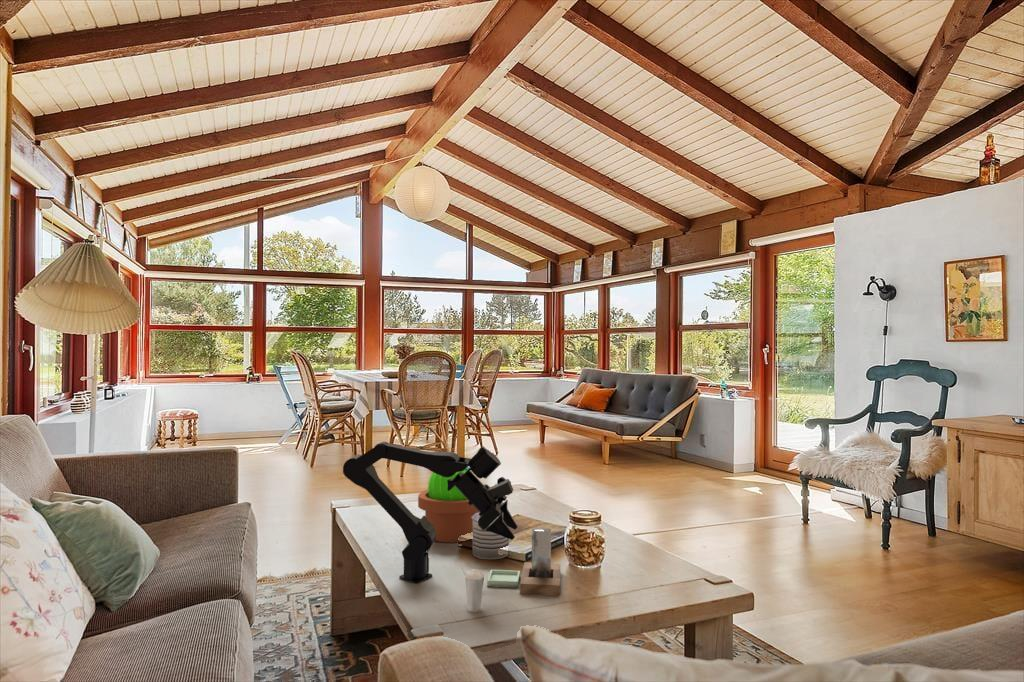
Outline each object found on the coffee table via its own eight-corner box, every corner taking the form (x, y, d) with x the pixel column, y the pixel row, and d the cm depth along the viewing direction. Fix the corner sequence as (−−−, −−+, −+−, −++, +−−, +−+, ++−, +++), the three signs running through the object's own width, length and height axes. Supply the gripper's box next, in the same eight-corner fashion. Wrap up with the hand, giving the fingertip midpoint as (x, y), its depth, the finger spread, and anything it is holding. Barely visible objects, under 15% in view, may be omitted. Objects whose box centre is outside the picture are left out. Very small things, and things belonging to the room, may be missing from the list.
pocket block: (519, 593, 160) (520, 583, 160) (524, 571, 176) (524, 562, 176) (559, 595, 159) (559, 585, 159) (560, 572, 175) (560, 563, 175)
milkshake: (461, 605, 152) (461, 564, 152) (483, 605, 152) (483, 563, 153) (461, 613, 147) (461, 570, 148) (484, 613, 148) (484, 570, 148)
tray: (487, 586, 164) (487, 580, 164) (490, 575, 172) (490, 569, 172) (517, 587, 164) (517, 581, 164) (520, 576, 172) (520, 570, 172)
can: (504, 561, 184) (505, 519, 184) (467, 558, 186) (467, 517, 186) (512, 548, 195) (513, 509, 195) (476, 546, 197) (477, 507, 197)
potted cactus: (405, 540, 202) (406, 462, 203) (438, 522, 223) (439, 451, 223) (467, 549, 194) (468, 467, 194) (496, 530, 214) (496, 456, 215)
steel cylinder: (544, 587, 164) (544, 533, 164) (527, 583, 167) (528, 530, 167) (554, 581, 168) (554, 529, 168) (538, 577, 171) (538, 525, 171)
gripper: (491, 476, 159) (534, 522, 158) (499, 463, 178) (538, 503, 177) (460, 507, 160) (503, 552, 159) (471, 490, 178) (510, 531, 177)
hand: (515, 533), depth 168 cm, fingers open, 9 cm apart
